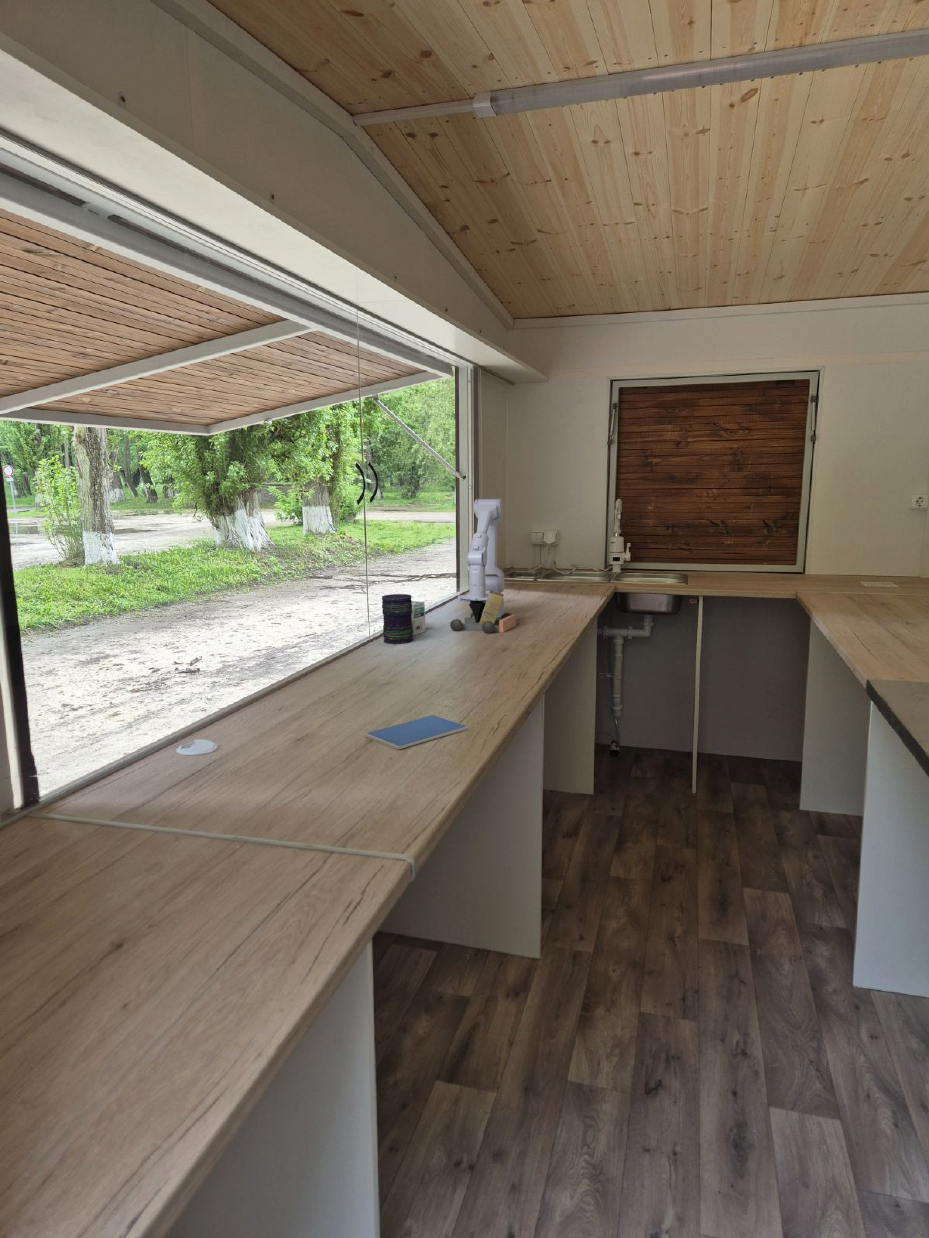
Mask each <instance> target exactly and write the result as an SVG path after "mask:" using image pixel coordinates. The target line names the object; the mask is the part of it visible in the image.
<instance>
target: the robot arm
mask: <svg viewBox="0 0 929 1238" xmlns="http://www.w3.org/2000/svg"><path fill="white" fill-rule="evenodd" d="M473 512H474V515H475V517H476V518H477V527H476V532H475V533H474V534H473V535H472V540H471V545H470V549H469V551H467V553H466V564H467V571H468V581H469V586H468V587H469V588H468V589H469V592H468V593H469V595H464V594H463V595H461V594H460V595H458V596H457V602H468V603H469V604H468V606H469V608H470V609H471V611H472V612H473V614H474V617H475V621H476V623H479V622H480V620H481V616H482V613H483V610H484V607H485V604H486V601H487V598H488V595H489V592H490V590H492V591H495V592H498V593H501V594H502V593H503V592H504V591H505V585H506V584H505V581H506V580H505V573H504V572H503V571H504V570H502V569H500V568H499V567H498V525H499V523H501V522H503V518H504V517H503V516H504V514H503V513H504V504H503V500H502V499H501V498H481V499H480V498H476V499H475V500H474V502H473ZM504 603H505V599H504V597H503V599H502V602H501V605H500V608H499V611H498V614H497V617H496V619H499V618H501V616H502V615H503V614H504V613H505V612H504V611H505V609H504V608H505V607H504V606H505V605H504ZM472 612H471V613H472Z"/></svg>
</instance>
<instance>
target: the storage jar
mask: <svg viewBox="0 0 929 1238" xmlns="http://www.w3.org/2000/svg"><path fill="white" fill-rule="evenodd" d="M381 600H382V601H381V608H382V609H381V610H382V611H381V612H382V616H383V625H382V628H383V629H382V635H383V643H384V644H387V645H406V644H407V645H408V644H410V643H413V642H414V635H413V625H412V616H411V613H412V601H413V600H412V595H411V594H405V593H396V594H395V593H393V594H392V593H391V594H385V595H382V596H381Z"/></svg>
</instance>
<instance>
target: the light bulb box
mask: <svg viewBox="0 0 929 1238" xmlns="http://www.w3.org/2000/svg"><path fill="white" fill-rule="evenodd" d="M411 616H412V625H413V636H417V635H419V634H422V633H426V632H427V631H426V630H427V629H426V628H427V627H426V607H425V601H419V600H418V601H416V600H412V613H411Z"/></svg>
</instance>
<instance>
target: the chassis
mask: <svg viewBox="0 0 929 1238" xmlns="http://www.w3.org/2000/svg"><path fill="white" fill-rule="evenodd" d="M481 617H482V616H481ZM516 618H517V615H516V614H512V613H510V612H504V614H503V615H502V616H501V617H500V619H499V618H496V620H495V623H494V624H493V623H492V622H491V621H487V622H485V623H483V625H482V624H479V623H480V622H479V623H476V621H475V617H474V614H473V612H471V613H470V617H467V616H466V617H464V623H463V621H462V620H460V619H459V618H456V619H453V620H452V621H450V629H451V630H452V631H454V632H459V631H460V630H463V631H464V630H465V631H479V632H483V633H485V634H491V633H493V632H495V633H504V632H507V631H508V630H511V629H514V628H515V627H516V626H517V622H516V621H517V619H516Z"/></svg>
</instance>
